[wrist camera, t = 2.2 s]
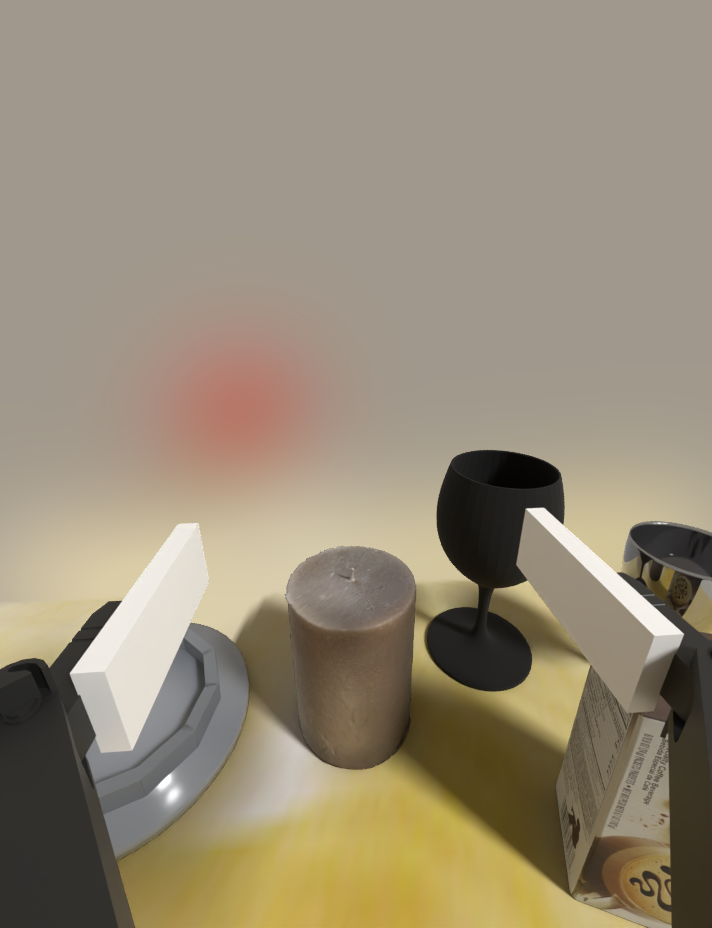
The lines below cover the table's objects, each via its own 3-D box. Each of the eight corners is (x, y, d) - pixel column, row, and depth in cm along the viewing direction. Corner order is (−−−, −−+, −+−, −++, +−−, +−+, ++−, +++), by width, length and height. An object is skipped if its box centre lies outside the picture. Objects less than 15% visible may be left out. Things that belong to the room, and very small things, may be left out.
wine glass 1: (424, 606, 45) (436, 445, 37) (516, 613, 44) (547, 448, 36) (429, 686, 35) (446, 491, 28) (547, 698, 34) (598, 498, 27)
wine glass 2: (599, 710, 33) (647, 566, 27) (583, 640, 40) (618, 514, 34) (713, 742, 30) (791, 591, 25) (674, 662, 37) (729, 530, 32)
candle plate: (-121, 858, 24) (-143, 833, 23) (104, 622, 43) (98, 602, 42) (174, 907, 22) (165, 882, 21) (277, 636, 41) (275, 616, 40)
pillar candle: (433, 732, 31) (447, 583, 26) (324, 799, 27) (314, 636, 22) (373, 648, 39) (374, 520, 34) (282, 689, 35) (267, 551, 30)
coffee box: (701, 828, 25) (805, 647, 19) (763, 978, 20) (937, 786, 14) (551, 781, 28) (602, 608, 22) (567, 900, 22) (642, 712, 16)
